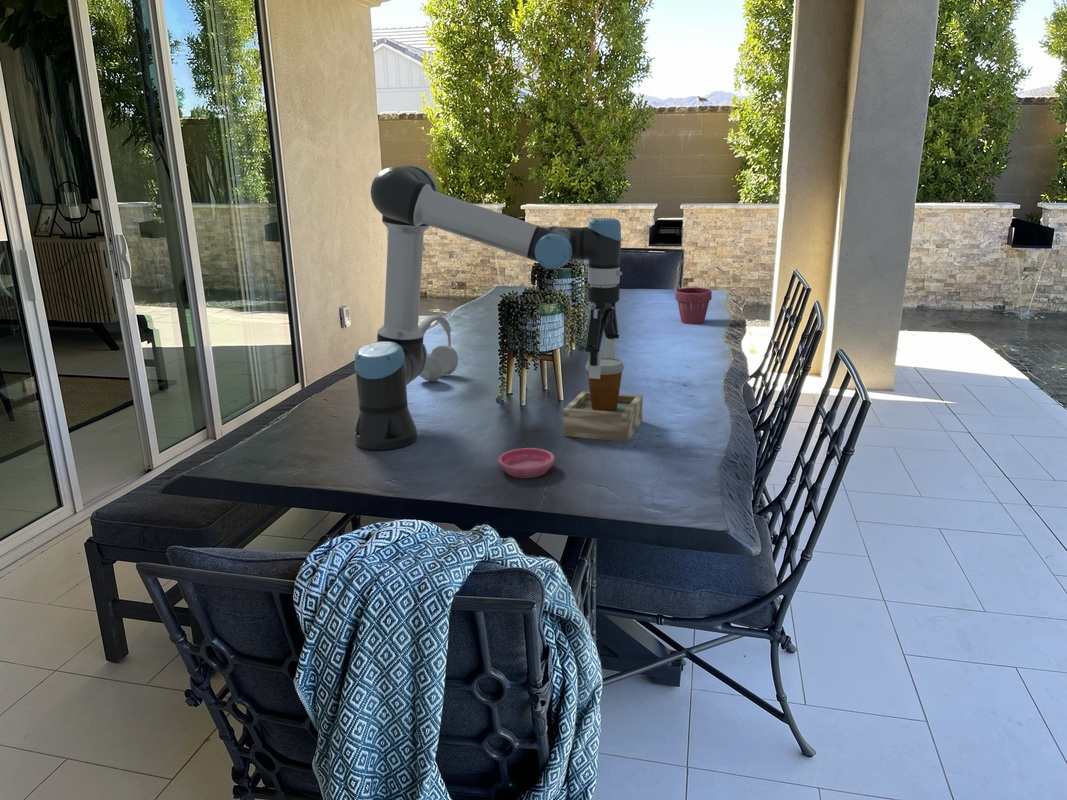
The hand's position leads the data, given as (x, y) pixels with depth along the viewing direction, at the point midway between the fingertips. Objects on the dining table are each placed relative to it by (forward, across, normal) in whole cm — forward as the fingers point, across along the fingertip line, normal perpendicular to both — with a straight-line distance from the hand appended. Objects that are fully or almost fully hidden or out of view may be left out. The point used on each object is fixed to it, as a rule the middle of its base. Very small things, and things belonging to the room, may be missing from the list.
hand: (602, 371), depth 197 cm
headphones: (+16, +30, +61) cm, 70 cm away
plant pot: (+15, +133, -1) cm, 134 cm away
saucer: (+16, -31, +8) cm, 36 cm away
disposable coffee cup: (+10, 0, -1) cm, 10 cm away
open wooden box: (+15, 0, -1) cm, 15 cm away
